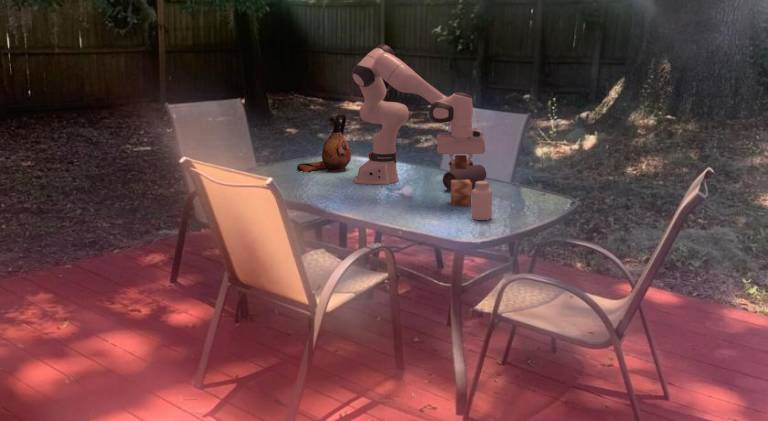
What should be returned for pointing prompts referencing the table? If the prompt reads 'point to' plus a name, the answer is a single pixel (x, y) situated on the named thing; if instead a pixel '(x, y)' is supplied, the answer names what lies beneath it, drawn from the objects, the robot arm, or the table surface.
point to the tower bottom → (461, 200)
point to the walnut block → (460, 161)
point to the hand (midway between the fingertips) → (460, 164)
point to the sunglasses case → (311, 166)
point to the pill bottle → (481, 201)
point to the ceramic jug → (336, 146)
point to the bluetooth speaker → (465, 175)
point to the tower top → (461, 187)
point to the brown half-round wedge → (452, 166)
